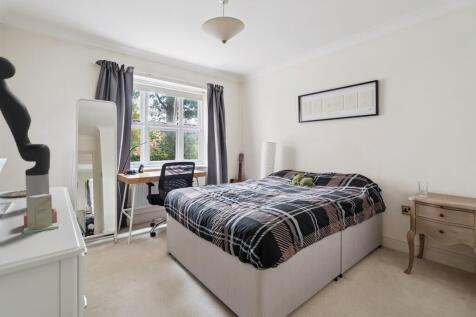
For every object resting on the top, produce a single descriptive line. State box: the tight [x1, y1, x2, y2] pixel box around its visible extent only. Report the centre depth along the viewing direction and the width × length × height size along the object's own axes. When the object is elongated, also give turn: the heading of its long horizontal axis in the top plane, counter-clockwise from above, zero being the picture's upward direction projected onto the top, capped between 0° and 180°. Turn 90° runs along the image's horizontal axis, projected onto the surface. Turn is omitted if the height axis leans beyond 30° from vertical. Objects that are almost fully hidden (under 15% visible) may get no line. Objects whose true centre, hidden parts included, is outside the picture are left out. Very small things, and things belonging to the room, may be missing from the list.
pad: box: [23, 222, 60, 235], centre depth 90 cm, size 6×10×1 cm, turn 132°
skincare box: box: [26, 193, 53, 230], centre depth 90 cm, size 6×4×12 cm
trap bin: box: [23, 208, 58, 229], centre depth 95 cm, size 7×10×5 cm
